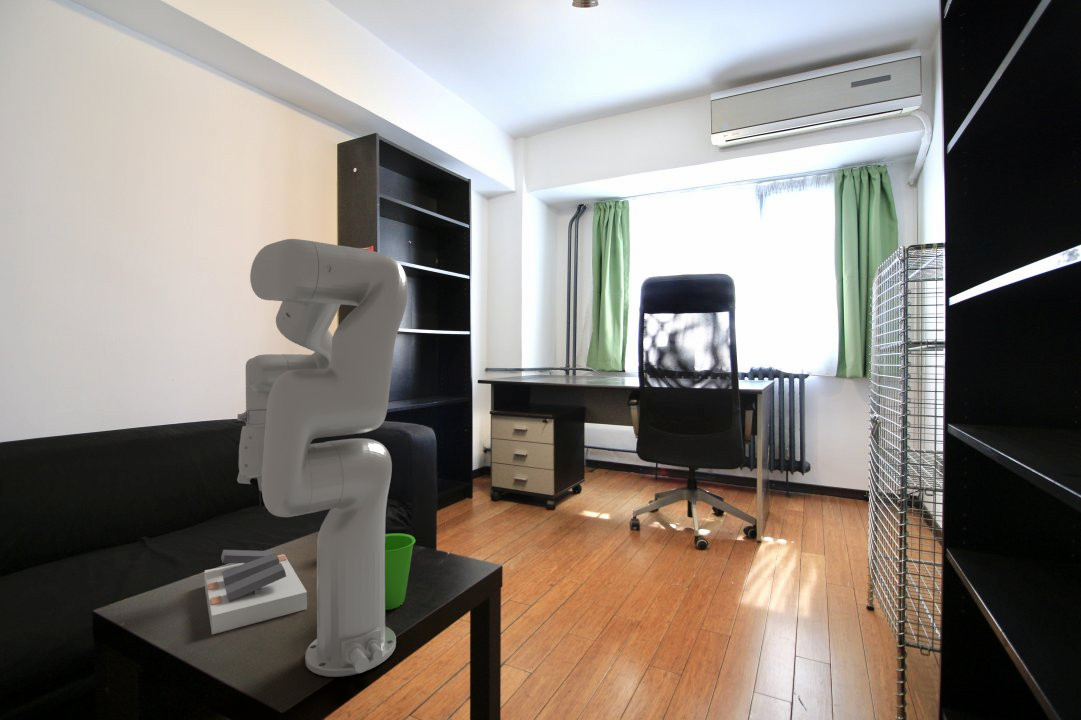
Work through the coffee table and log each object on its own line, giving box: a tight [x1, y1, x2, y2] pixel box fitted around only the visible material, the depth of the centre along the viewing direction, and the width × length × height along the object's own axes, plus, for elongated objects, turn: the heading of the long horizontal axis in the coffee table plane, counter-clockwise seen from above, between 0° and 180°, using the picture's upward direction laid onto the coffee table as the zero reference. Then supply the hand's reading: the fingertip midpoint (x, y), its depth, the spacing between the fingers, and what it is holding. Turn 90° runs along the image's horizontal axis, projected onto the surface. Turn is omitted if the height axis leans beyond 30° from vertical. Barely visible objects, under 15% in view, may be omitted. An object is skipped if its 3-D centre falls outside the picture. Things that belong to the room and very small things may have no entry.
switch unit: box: [204, 553, 308, 635], centre depth 94 cm, size 22×14×4 cm, turn 36°
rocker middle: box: [222, 552, 279, 586], centre depth 95 cm, size 4×9×1 cm, turn 126°
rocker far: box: [220, 549, 274, 564], centre depth 101 cm, size 4×9×1 cm, turn 126°
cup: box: [385, 532, 416, 611], centre depth 91 cm, size 9×9×11 cm
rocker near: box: [225, 563, 286, 602], centre depth 89 cm, size 4×9×1 cm, turn 126°
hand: (268, 509), depth 102 cm, fingers closed
